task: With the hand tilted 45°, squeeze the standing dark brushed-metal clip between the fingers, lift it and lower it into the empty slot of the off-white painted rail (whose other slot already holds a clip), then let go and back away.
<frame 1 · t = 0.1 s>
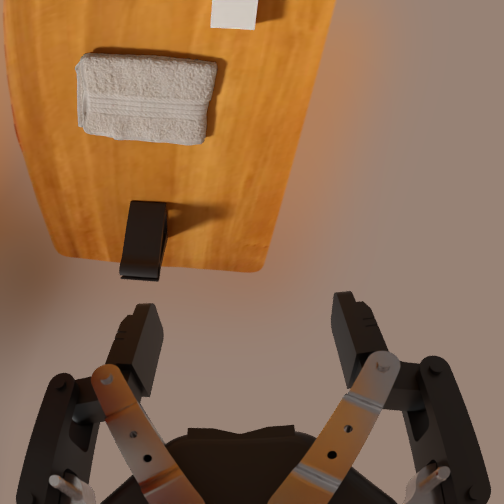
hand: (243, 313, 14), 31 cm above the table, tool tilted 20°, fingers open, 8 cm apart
phone stand: (150, 219, 53), on the table
washcloth: (144, 92, 35), on the table
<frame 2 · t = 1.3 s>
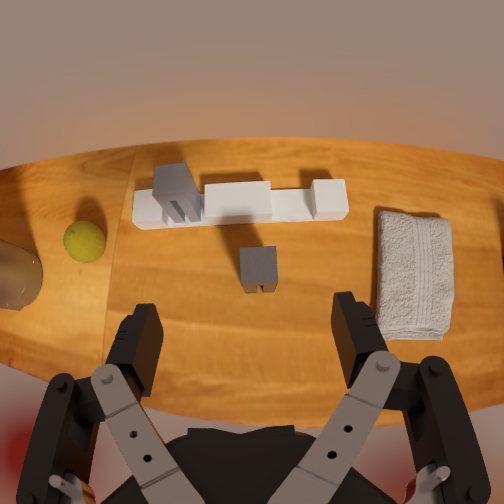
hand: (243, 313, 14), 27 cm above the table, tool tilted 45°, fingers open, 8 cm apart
washcloth: (410, 277, 41), on the table
clip: (259, 278, 41), on the table
lemon: (99, 249, 43), on the table
rail: (239, 208, 43), on the table
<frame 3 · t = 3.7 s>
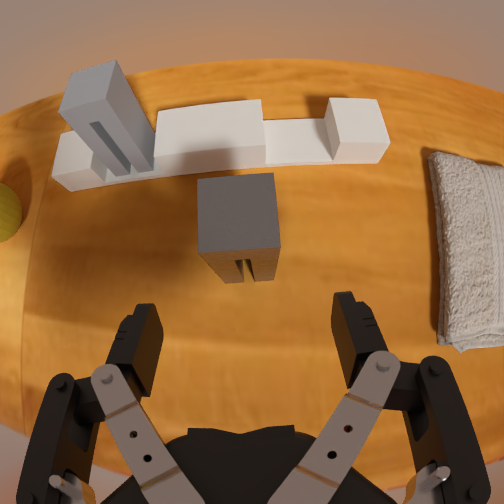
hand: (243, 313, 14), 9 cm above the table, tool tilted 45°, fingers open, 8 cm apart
washcloth: (479, 252, 24), on the table
clip: (247, 258, 24), on the table
lemon: (19, 225, 26), on the table
rail: (214, 148, 26), on the table
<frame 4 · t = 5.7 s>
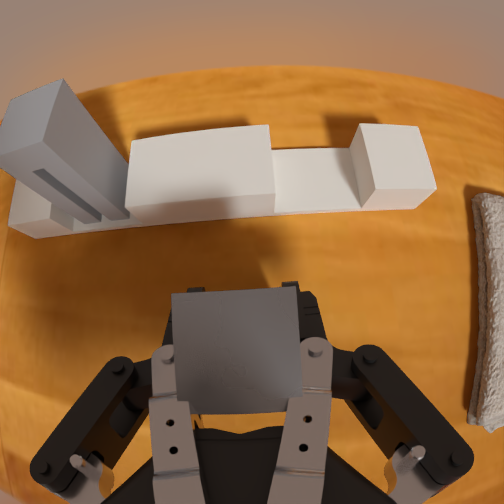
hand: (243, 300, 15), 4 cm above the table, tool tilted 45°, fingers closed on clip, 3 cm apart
clip: (250, 339, 18), on the table, touching gripper
rail: (207, 188, 21), on the table
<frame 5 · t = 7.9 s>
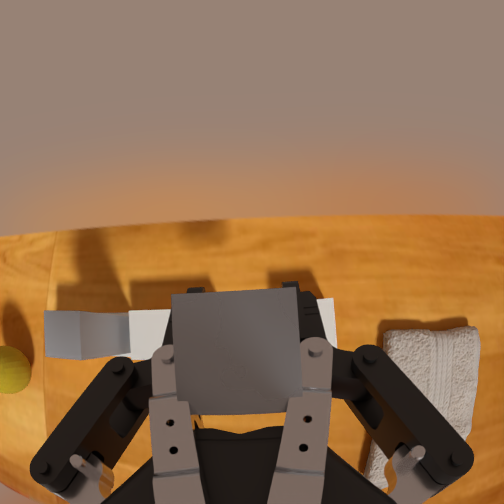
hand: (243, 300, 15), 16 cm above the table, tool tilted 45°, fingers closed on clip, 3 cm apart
washcloth: (419, 407, 28), on the table
clip: (250, 339, 18), point 12 cm above the table, touching gripper
lemon: (28, 367, 30), on the table
rail: (183, 333, 30), on the table
when the fingers open (6 cm above the table, at t = 10.1 s): clip stays where it is, resting on rail.
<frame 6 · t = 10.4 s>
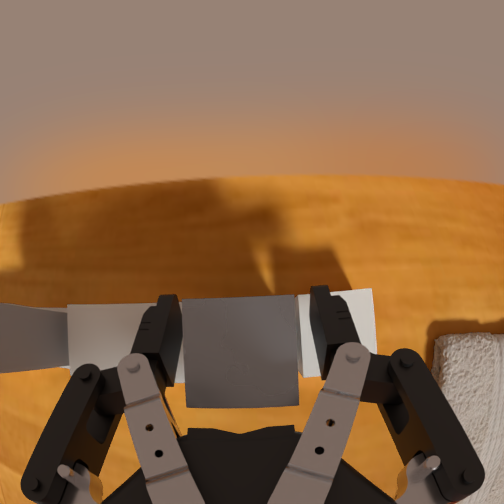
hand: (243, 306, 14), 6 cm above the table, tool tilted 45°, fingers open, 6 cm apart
washcloth: (469, 435, 18), on the table
clip: (251, 340, 19), resting on rail
rail: (146, 340, 20), on the table
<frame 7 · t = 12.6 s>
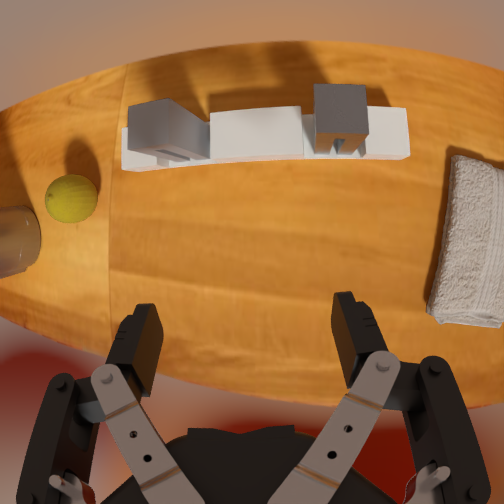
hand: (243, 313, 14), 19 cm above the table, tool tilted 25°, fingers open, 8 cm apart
washcloth: (479, 244, 29), on the table
clip: (332, 136, 29), resting on rail
lemon: (93, 198, 35), on the table
rail: (261, 138, 31), on the table
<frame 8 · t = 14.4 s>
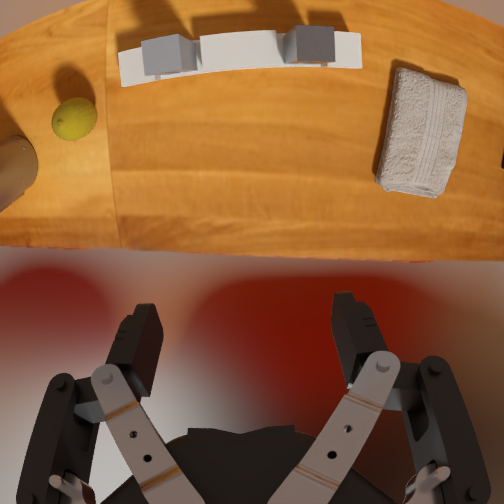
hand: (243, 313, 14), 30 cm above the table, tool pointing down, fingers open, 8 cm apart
washcloth: (417, 133, 39), on the table
clip: (298, 50, 32), resting on rail
lemon: (89, 113, 36), on the table
rail: (239, 52, 33), on the table
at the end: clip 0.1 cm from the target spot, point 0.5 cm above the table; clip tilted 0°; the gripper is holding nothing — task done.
